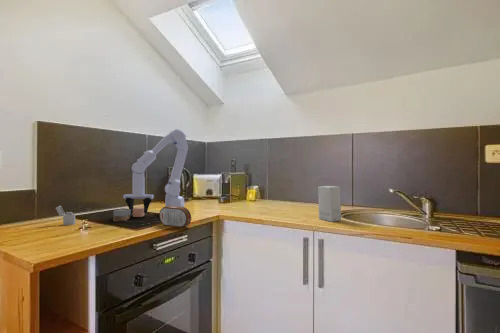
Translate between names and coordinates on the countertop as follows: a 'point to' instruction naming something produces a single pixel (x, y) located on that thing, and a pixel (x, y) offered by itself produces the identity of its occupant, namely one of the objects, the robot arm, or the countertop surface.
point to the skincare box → (329, 203)
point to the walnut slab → (121, 218)
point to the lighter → (66, 216)
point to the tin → (175, 216)
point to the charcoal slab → (122, 212)
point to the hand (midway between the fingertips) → (138, 213)
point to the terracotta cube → (138, 212)
